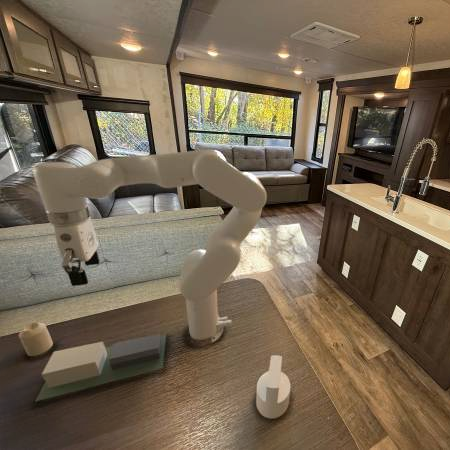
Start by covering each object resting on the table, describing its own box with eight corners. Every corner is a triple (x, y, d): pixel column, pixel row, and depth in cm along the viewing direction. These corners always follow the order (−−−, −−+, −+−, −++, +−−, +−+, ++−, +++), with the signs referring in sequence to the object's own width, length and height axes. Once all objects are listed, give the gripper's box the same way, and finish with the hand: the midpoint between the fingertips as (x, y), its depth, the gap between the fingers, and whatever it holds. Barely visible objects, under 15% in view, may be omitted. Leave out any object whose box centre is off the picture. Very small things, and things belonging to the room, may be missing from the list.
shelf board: (166, 337, 83) (165, 334, 83) (163, 371, 72) (162, 368, 72) (59, 361, 73) (58, 357, 72) (36, 405, 62) (34, 401, 61)
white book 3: (107, 354, 74) (106, 349, 74) (100, 375, 68) (98, 370, 68) (60, 364, 70) (58, 360, 69) (48, 388, 64) (46, 383, 63)
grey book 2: (161, 343, 79) (160, 338, 78) (159, 358, 75) (158, 353, 74) (116, 353, 75) (115, 348, 74) (111, 370, 70) (110, 364, 69)
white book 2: (106, 350, 74) (104, 345, 73) (98, 370, 68) (97, 366, 67) (58, 360, 69) (56, 356, 69) (46, 383, 63) (44, 379, 63)
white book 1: (104, 345, 73) (102, 341, 72) (96, 366, 67) (95, 361, 66) (55, 356, 69) (53, 351, 68) (43, 379, 63) (41, 374, 62)
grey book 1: (160, 338, 78) (159, 333, 78) (158, 353, 74) (157, 347, 73) (115, 348, 74) (113, 343, 73) (110, 364, 69) (108, 359, 68)
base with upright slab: (259, 382, 72) (260, 353, 67) (290, 385, 72) (293, 356, 67) (253, 416, 64) (253, 386, 59) (287, 420, 64) (291, 389, 59)
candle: (38, 361, 72) (26, 336, 68) (23, 356, 73) (11, 331, 69) (59, 346, 77) (49, 321, 73) (44, 342, 78) (34, 317, 74)
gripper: (75, 228, 54) (94, 291, 61) (99, 203, 69) (112, 256, 75) (29, 230, 51) (54, 296, 58) (64, 204, 66) (81, 259, 72)
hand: (87, 273), depth 67 cm, fingers open, 9 cm apart
